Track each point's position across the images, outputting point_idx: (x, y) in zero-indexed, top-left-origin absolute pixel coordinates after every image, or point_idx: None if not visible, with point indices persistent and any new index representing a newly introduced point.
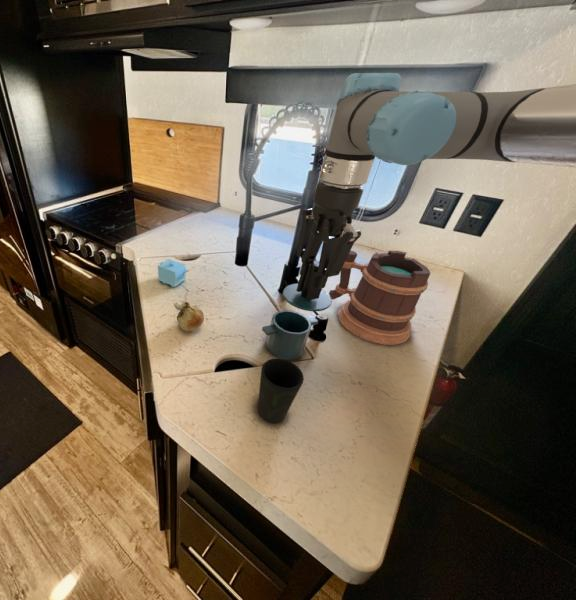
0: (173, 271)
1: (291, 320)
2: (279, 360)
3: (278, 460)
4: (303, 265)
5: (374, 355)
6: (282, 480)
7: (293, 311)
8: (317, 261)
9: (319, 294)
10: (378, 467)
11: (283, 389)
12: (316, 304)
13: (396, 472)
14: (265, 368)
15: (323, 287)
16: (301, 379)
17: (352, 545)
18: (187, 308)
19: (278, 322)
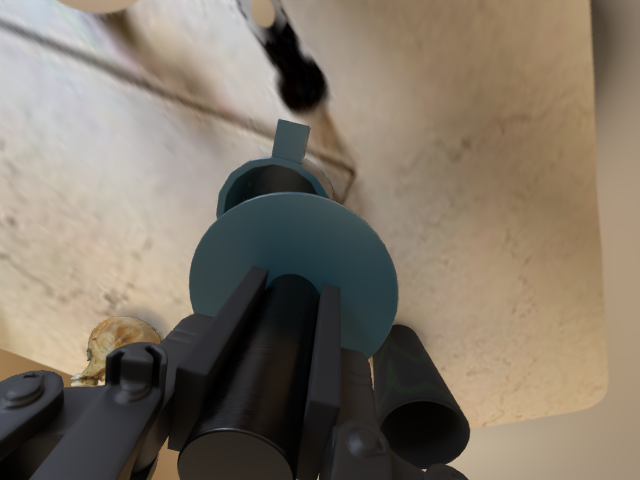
0: None
1: (252, 172)
2: (390, 411)
3: (457, 390)
4: (172, 443)
5: (444, 5)
6: (478, 404)
7: (237, 170)
8: (210, 448)
9: (338, 299)
10: (572, 287)
11: (451, 459)
12: (359, 318)
13: (597, 271)
14: (380, 429)
15: (363, 361)
16: (460, 418)
17: (582, 397)
18: (101, 375)
19: (238, 203)
